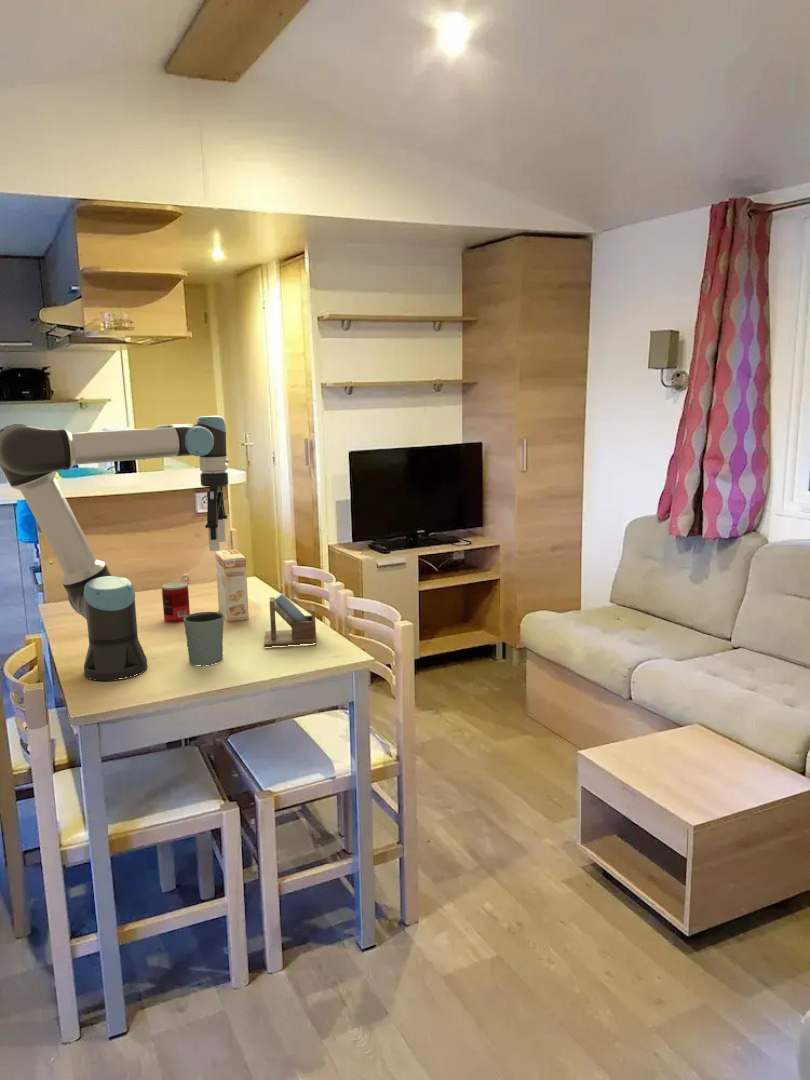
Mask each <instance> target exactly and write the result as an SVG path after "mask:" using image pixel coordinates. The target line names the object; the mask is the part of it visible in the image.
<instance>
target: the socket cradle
mask: <svg viewBox="0 0 810 1080" xmlns="http://www.w3.org/2000/svg"><path fill="white" fill-rule="evenodd" d="M275 599H276V597H275V596H270V597H269V618H270V630H266V631H265V634H264V640H263V641H264V642H263V648H264V647H272V646H288V645H300V644H313V643H316V644H317V632H316V631H317V630H316V629H317V627H316V607H315V605H311V606H310V609H311V615H304V616H305V617H306V618H307V619H308V620H309V621H302V622H295V621H294V620H293V619H292V618H291V617H290V616H289V615H288V614H287V613H286V612H285V611H284V610H283V609H282V608H281V607H280V606H279V605H278V604H277V603H276V602H275V601H274V600H275ZM276 613H277V614H278V615H279V617H280V618H282V619H283V620H284V622H286V623H287V624H288V626H289V627H291V629H287V630H286V629H285V630H282V629H281V630H277V628H276V627H277V623H276Z"/></svg>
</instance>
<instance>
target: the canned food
mask: <svg viewBox="0 0 810 1080" xmlns="http://www.w3.org/2000/svg"><path fill="white" fill-rule="evenodd" d="M189 594H190V593H189V585H188V583H187V582H183V581H173V582H167V583H165V584H163V585H161V596H162V597H161V598H162V606H163V608H162V610H163V618H164V621H165V622H166V623H172V624H174V623H175V624H176V623H182V622H183V623H184V620H183V618H184V617H185V616H187V615H190V614H191V611H190V597H189V596H190V595H189Z"/></svg>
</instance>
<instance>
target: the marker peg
mask: <svg viewBox="0 0 810 1080" xmlns="http://www.w3.org/2000/svg"><path fill="white" fill-rule="evenodd" d="M274 601H275V602H276V603H277V604H278V605H279V606H280V607H281V608H282V609H283V610H284V611H285V612H286V613H287V614H288V615H289V616H290V617H291V618H292V619H293V620H294V621H295V622H302V621H309V620H308V619H307V618H306V617H305V616H306V615H305V614H304V613H302V611H301V610H300V609H299V608H298V607H297V606H296V605H295V604H294V603H293V602H292V601H291V600H290V599H289V598H288V597H287V596H286V595H285V594H284V592H283V593H282V592H281V593H280V594H279V595H278V596H277V597H275V600H274Z"/></svg>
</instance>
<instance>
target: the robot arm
mask: <svg viewBox="0 0 810 1080" xmlns="http://www.w3.org/2000/svg"><path fill="white" fill-rule="evenodd" d="M196 420H197V421H196V423H192V424H191V423H186V424H185V423H182V424H179V423H177V424H176V423H174V424H172V423H171V424H168V423H167V424H159V425H156V427H155V428H154V427H153V428H137V429H134V428H133V429H119V430H118V429H117V430H102V431H101V430H100V431H97V430H96V431H85V432H84V431H83V432H81V431H80V432H69V431H68V430H67V429H65V428H61V429H58V428H57V429H52V428H51V429H48V428H41V427H35V426H29V425H26V424H21V423H14V424H11V425H10V424H9V425H6V426H5V427H3V428H1V429H0V468H1V470H2V472H3V474H4V475H5V478H6V480H7V481H8V483H9V485H10V487H11V488H12V489H16V490H18V491H20V492H21V495H22V496H23V498H24V500H25V502H26V504H27V506H28V507H29V509H30V511H31V513H32V515H33V516H34V518H35V519H34V520H35V521H36V523H37V524H38V526H39V528H40V530H41V533H42V534H43V536H44V538H45V540H46V542H47V543H48V545H49V548H50V549H51V551H52V553H53V555H54V557H55V560H56V561H57V563H58V565H59V567H60V568H61V570H62V572H63V576H62V579H61V584H62V586H63V587H64V590H65V591H66V593H67V598H68V601H69V604H70V606H71V608H72V609H73V611H75V612H76V613H77V614H79V615H80V616H81V617H83V618H84V619H85V620H86V623H87V625H86V626H87V637H88V649H87V651H86V656H85V661H84V664H83V674H84V677H85V676H86V677H88V678H91V679H96V680H113V681H115V680H114V679H119V678H125V677H130V676H133V677H135V676H134V675H136V674H139V673H141V672H142V673H144V672H145V671H147V669H148V658H147V656H146V654H145V652H144V649H143V646H142V645H141V643H140V640H139V637H138V636H139V635H138V623H137V612H136V611H137V610H136V609H137V608H136V600H135V599H136V592H135V589H134V584H133V583H132V582H131V580H130V579H128V578H126V577H122V576H116V575H112V573H111V572H110V570H109V568H108V566H107V564H106V563H105V561H102V560H99V559H97V557H96V555H95V554H94V552H93V550H92V548H91V546H90V544H89V542H88V540H87V539H86V536H85V533H84V532H83V530H82V528H81V526H80V524H79V522H78V520H77V519H76V516H75V515H74V512H73V510H72V508H71V506H70V504H69V502H68V500H67V498H66V496H65V494H64V492H63V490H62V488H61V486H60V484H59V482H58V480H57V478H56V474H57V473H58V472H59V471H68V470H71V469H72V468H73V466H77V465H87V464H88V465H89V464H100V463H114V462H125V461H137V460H138V461H139V460H150V459H160V458H161V459H162V458H173V457H174V458H175V457H187V456H194V457H198V459H199V460H198V461H199V462H198V463H199V471H201V473H200V475H199V477H200V485H201V486H202V487H205V488H206V487H207V488H209V489H208V491H207V492H206V495H207V496H206V498H207V504H206V505H207V509H206V510H207V512H206V513H207V516H206V517H207V519H206V524H205V529H208V531H207V532H208V547H209V552H215V551H221V550H220V549H221V544H220V543H225V542H226V521H225V520H227V519H228V515H226V512H225V511H226V509H225V503H224V492H223V487H226V486H228V485H229V472H227V470H228V464H229V463H230V459H227V457H228V456H227V455H228V453H227V428H226V421H225V418H224V417H223V416H221V415H205V416H204V415H203V416H201V415H200V416H198V417H197V419H196ZM143 671H144V672H143ZM142 673H141V674H142ZM139 675H140V674H139ZM136 676H137V675H136ZM86 677H85V678H86ZM88 678H87V679H88ZM130 678H131V677H130ZM91 679H90V680H91ZM96 680H95V681H96Z"/></svg>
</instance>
